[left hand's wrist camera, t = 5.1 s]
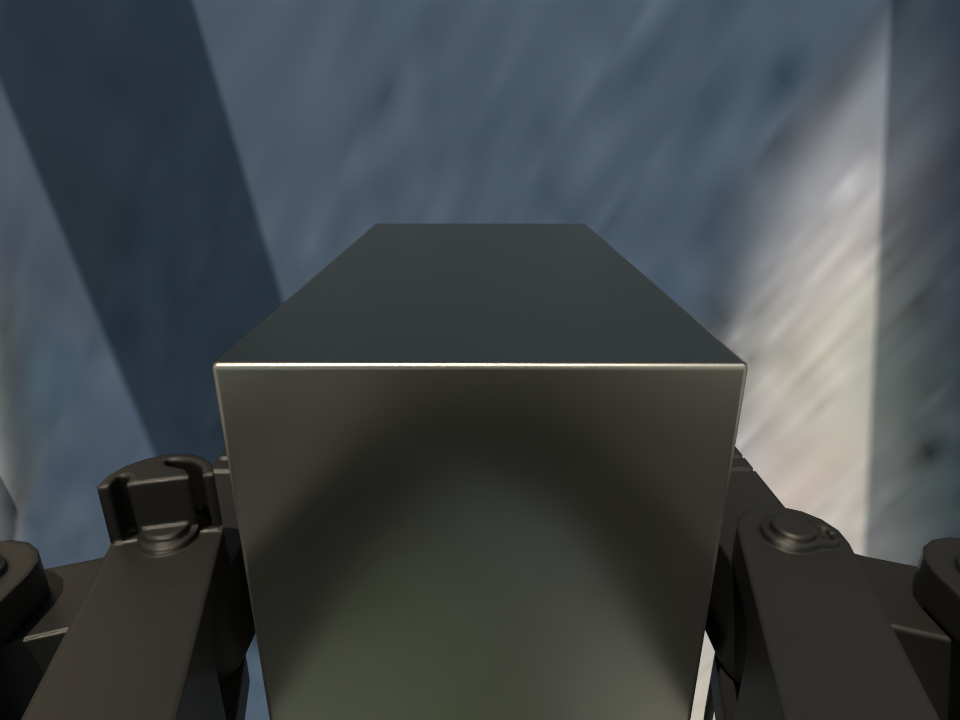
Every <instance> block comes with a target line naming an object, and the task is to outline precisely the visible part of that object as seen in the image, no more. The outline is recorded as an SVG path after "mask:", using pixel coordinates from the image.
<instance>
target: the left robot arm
mask: <svg viewBox="0 0 960 720" xmlns="http://www.w3.org/2000/svg"><path fill="white" fill-rule="evenodd" d="M97 489H98V493H99V497H100V501H101V505H102V509H103V513H104V517H105V521H106V525H107V529H108V533H109V537H110V541H111V545H110V547H109V549H108V551H107V553H106V555H105V557H102V558H98V559H95V560H90V561H85V562H80V563H75V564H70V565H64V566H59V567H54V568H49V569H44V568H43V565H42V562H41V558H40V555H39V552H38V550H37V549H36V548H35V547H34V546H32V545H31V544H30V543H27V542H21V541H14V540H9V541H0V720H245V713H246V705H247V698H248V690H249V683H250V681H249V673H248V666H247V660H246V652H247V650H248V648H249V646H250V643H251V641H252V639H253V637H254V635H255V632H256V631H255V625H254V619H253V613H252V607H251V600H250V594H249V588H248V582H247V576H246V570H245V564H244V558H243V551H242V545H241V539H240V533H239V527H238V521H237V515H236V509H235V502H234V496H233V490H232V484H231V478H230V472H229V466H228V459H227V453H226V449H225V450H224V451H223V452H222V454H221V455H220V456H219V460H216V461H215V462H214V464H211V463H210V462H209V461H207V460H206V459H205V458H203V457H198V456H194V455H189V454H180V455H164V456H159V457H154V458H148V459H145V460H142V461H139V462H136V463H133V464H131V465H128V466H125V467H123V468H122V469H120V470H118V471H116V472H114V473H113V474H111V475H109V476H108V477H107V478H106V479H105V480H104V481H103V482H102V483H101V484H100V485H99V486H98V487H97ZM705 630H706V633H707V635H708V637H709V639H710V641H711V644H712V646H713V648H714V650H715V655H714V660H713V666H712V672H711V678H710V683H709V689H708V695H707V701H706V706H705V713H704V720H713V715H714V712H715V719H716V720H960V538H951V537H949V538H942V539H935V540H932V541H931V542H929V543H928V544H927V545H925V546H924V547H923V550H922V554H921V557H920V560H919V563H918V567H916V566H910V565H905V564H900V563H895V562H890V561H885V560H880V559H875V558H869V557H865V556H861V555H857V554H854V552H853V550H852V548H851V546H850V544H849V543H848V542H847V540H846V539H845V538H844V537H843V536H842V534H841V533H840V532H839V531H838V530H837V529H835V528H834V527H832V526H831V525H829V524H828V523H826V522H825V521H823V520H821V519H819V518H816V517H814V516H812V515H809V514H807V513H804V512H802V511H797V510H793V509H788V508H785V507H784V506H783V505H782V503H781V502H780V501H779V500H778V498H777V497H776V496H775V495H774V493H773V492H772V491H771V490H770V489H769V487H768V486H767V485H766V484H765V482H764V481H763V480H762V479H761V478H760V476H759V475H758V474H757V473H756V471H753V468H752V466H751V465H750V464H749V463H748V462H747V460H746V459H745V458H742V454H741V453H740V452H739V451H738V449H737V448H736V447H735V449H734V455H733V461H732V468H731V474H730V480H729V486H728V492H727V498H726V504H725V510H724V516H723V523H722V529H721V535H720V541H719V547H718V553H717V559H716V565H715V571H714V578H713V584H712V590H711V596H710V602H709V608H708V614H707V620H706V627H705Z"/></svg>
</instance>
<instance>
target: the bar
mask: <svg viewBox="0 0 960 720" xmlns="http://www.w3.org/2000/svg"><path fill="white" fill-rule="evenodd" d="M747 369H748V368H747V364H746V362H744V361H743V360H742V359H741V358H740V357H739V356H737V355H736V354H735V353H734V352H733V351H732V350H730V349H729V348H728V347H727V346H726V345H725V344H724V343H722V342H721V341H720V340H719V339H718V338H717V337H715V336H714V335H713V334H712V333H711V332H710V331H708V330H707V329H706V328H705V327H704V326H703V325H702V324H700V323H699V322H698V321H697V320H696V319H695V318H693V317H692V316H691V315H690V314H689V313H688V312H686V311H685V310H684V309H683V308H682V307H681V306H680V305H678V304H677V303H676V302H675V301H674V300H673V299H671V298H670V297H669V296H668V295H667V294H666V293H664V292H663V291H662V290H661V289H660V288H659V287H657V286H656V285H655V284H654V283H653V282H652V281H651V280H649V279H648V278H647V277H646V276H645V275H644V274H642V273H641V272H640V271H639V270H638V269H637V268H635V267H634V266H633V265H632V264H631V263H630V262H629V261H627V260H626V259H625V258H624V257H623V256H622V255H620V254H619V253H618V252H617V251H616V250H615V249H613V248H612V247H611V246H610V245H609V244H608V243H607V242H605V241H604V240H603V239H602V238H601V237H600V236H598V235H597V234H596V233H595V232H594V231H593V230H591V229H590V228H589V227H588V226H587V225H586V224H375V225H374V226H373V227H372V228H370V229H369V230H368V231H367V232H366V233H365V234H363V235H362V236H361V237H360V238H359V239H358V240H356V241H355V242H354V243H353V244H352V245H351V246H349V247H348V248H347V249H346V250H345V251H344V252H342V253H341V254H340V255H339V256H338V257H337V258H335V259H334V260H333V261H332V262H331V263H330V264H328V265H327V266H326V267H325V268H324V269H323V270H322V271H320V272H319V273H318V274H317V275H316V276H315V277H313V278H312V279H311V280H310V281H309V282H308V283H306V284H305V285H304V286H303V287H302V288H301V289H299V290H298V291H297V292H296V293H295V294H294V295H292V296H291V297H290V298H289V299H288V300H287V301H285V302H284V303H283V304H282V305H281V306H280V307H279V308H277V309H276V310H275V311H274V312H273V313H272V314H270V315H269V316H268V317H267V318H266V319H265V320H263V321H262V322H261V323H260V324H259V325H258V326H256V327H255V328H254V329H253V330H252V331H251V332H249V333H248V334H247V335H246V336H245V337H244V338H242V339H241V340H240V341H239V342H238V343H237V344H236V345H234V346H233V347H232V348H231V349H230V350H229V351H227V352H226V353H225V354H224V355H223V356H222V357H220V358H219V359H218V360H217V361H216V362H215V363H214V365H213V374H214V380H215V386H216V392H217V398H218V404H219V410H220V417H221V423H222V429H223V435H224V441H225V447H226V453H227V459H228V466H229V472H230V478H231V484H232V490H233V496H234V502H235V509H236V515H237V521H238V527H239V533H240V539H241V545H242V551H243V558H244V564H245V570H246V576H247V582H248V588H249V594H250V600H251V607H252V613H253V619H254V625H255V631H256V637H257V643H258V649H259V656H260V662H261V668H262V674H263V680H264V686H265V692H266V699H267V705H268V711H269V717H270V720H690V718H691V712H692V706H693V700H694V694H695V688H696V682H697V675H698V669H699V663H700V657H701V651H702V645H703V639H704V633H705V627H706V620H707V614H708V608H709V602H710V596H711V590H712V584H713V578H714V571H715V565H716V559H717V553H718V547H719V541H720V535H721V529H722V523H723V516H724V510H725V504H726V498H727V492H728V486H729V480H730V474H731V468H732V461H733V455H734V449H735V443H736V437H737V431H738V425H739V419H740V412H741V406H742V400H743V394H744V388H745V382H746V376H747Z"/></svg>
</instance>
